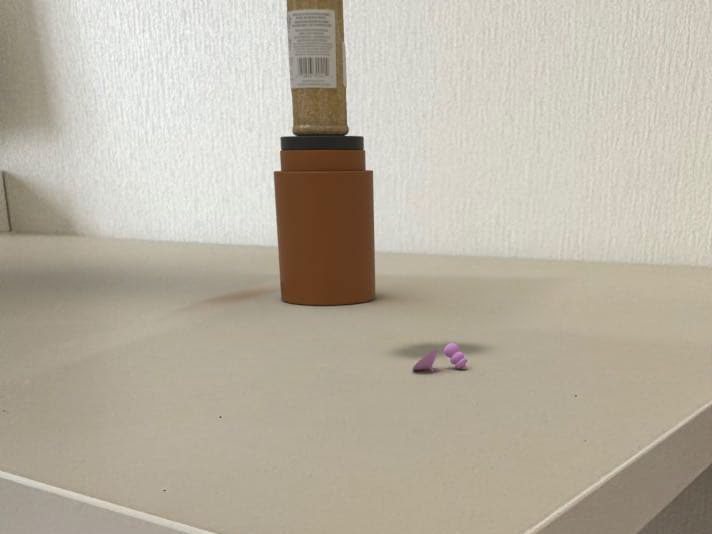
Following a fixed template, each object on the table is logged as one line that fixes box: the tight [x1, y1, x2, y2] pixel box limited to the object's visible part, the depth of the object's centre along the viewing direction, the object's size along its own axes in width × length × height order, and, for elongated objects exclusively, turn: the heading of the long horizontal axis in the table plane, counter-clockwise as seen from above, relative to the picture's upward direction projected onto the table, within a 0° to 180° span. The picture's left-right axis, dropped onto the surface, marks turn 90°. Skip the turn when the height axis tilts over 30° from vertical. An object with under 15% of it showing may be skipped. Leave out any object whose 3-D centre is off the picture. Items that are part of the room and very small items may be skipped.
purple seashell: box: [412, 342, 468, 373], centre depth 49 cm, size 3×2×2 cm
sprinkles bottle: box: [286, 0, 350, 136], centre depth 67 cm, size 5×5×14 cm
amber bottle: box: [273, 135, 376, 306], centre depth 72 cm, size 8×8×12 cm
